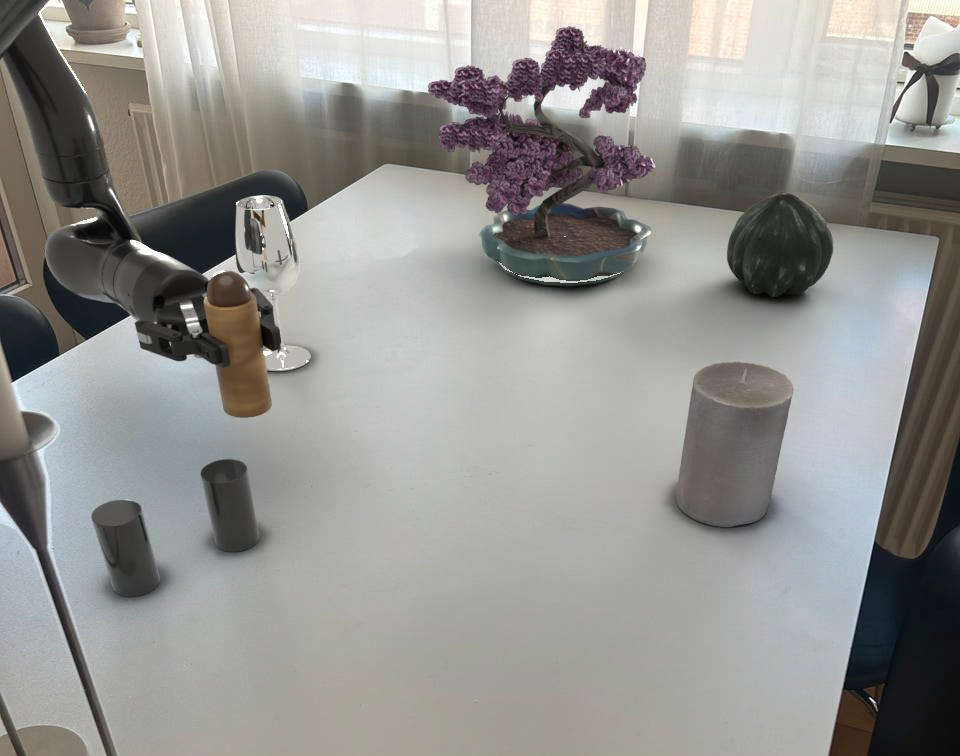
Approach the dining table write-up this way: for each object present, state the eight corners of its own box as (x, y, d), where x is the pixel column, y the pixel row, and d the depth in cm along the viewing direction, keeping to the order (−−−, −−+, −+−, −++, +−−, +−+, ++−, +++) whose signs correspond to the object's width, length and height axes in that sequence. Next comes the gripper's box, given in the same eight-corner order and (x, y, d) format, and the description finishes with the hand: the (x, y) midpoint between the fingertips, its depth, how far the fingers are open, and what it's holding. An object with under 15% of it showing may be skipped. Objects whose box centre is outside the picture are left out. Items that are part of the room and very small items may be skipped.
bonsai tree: (637, 232, 170) (658, 8, 149) (671, 293, 149) (700, 43, 128) (432, 239, 168) (423, 13, 147) (437, 301, 148) (427, 49, 127)
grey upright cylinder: (229, 557, 99) (214, 487, 93) (207, 538, 101) (192, 469, 96) (267, 540, 101) (255, 471, 96) (245, 522, 103) (232, 454, 98)
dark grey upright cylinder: (125, 602, 93) (103, 531, 88) (105, 581, 96) (83, 511, 91) (168, 584, 95) (149, 513, 90) (147, 563, 98) (128, 493, 93)
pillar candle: (692, 471, 110) (711, 341, 101) (779, 492, 107) (808, 360, 97) (662, 514, 104) (679, 380, 94) (754, 538, 100) (782, 401, 91)
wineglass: (242, 368, 131) (215, 210, 118) (267, 344, 137) (244, 190, 124) (297, 375, 129) (275, 215, 116) (320, 350, 135) (302, 195, 122)
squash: (806, 226, 155) (766, 157, 145) (866, 263, 145) (826, 190, 135) (736, 295, 159) (691, 232, 148) (789, 335, 148) (745, 270, 138)
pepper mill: (239, 423, 97) (215, 286, 88) (214, 405, 100) (188, 271, 91) (281, 407, 100) (261, 272, 91) (255, 390, 102) (234, 258, 94)
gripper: (90, 277, 97) (174, 331, 88) (220, 243, 105) (311, 290, 95) (109, 349, 102) (191, 409, 93) (231, 312, 109) (319, 364, 100)
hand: (251, 348), depth 94 cm, fingers closed on pepper mill, 5 cm apart
